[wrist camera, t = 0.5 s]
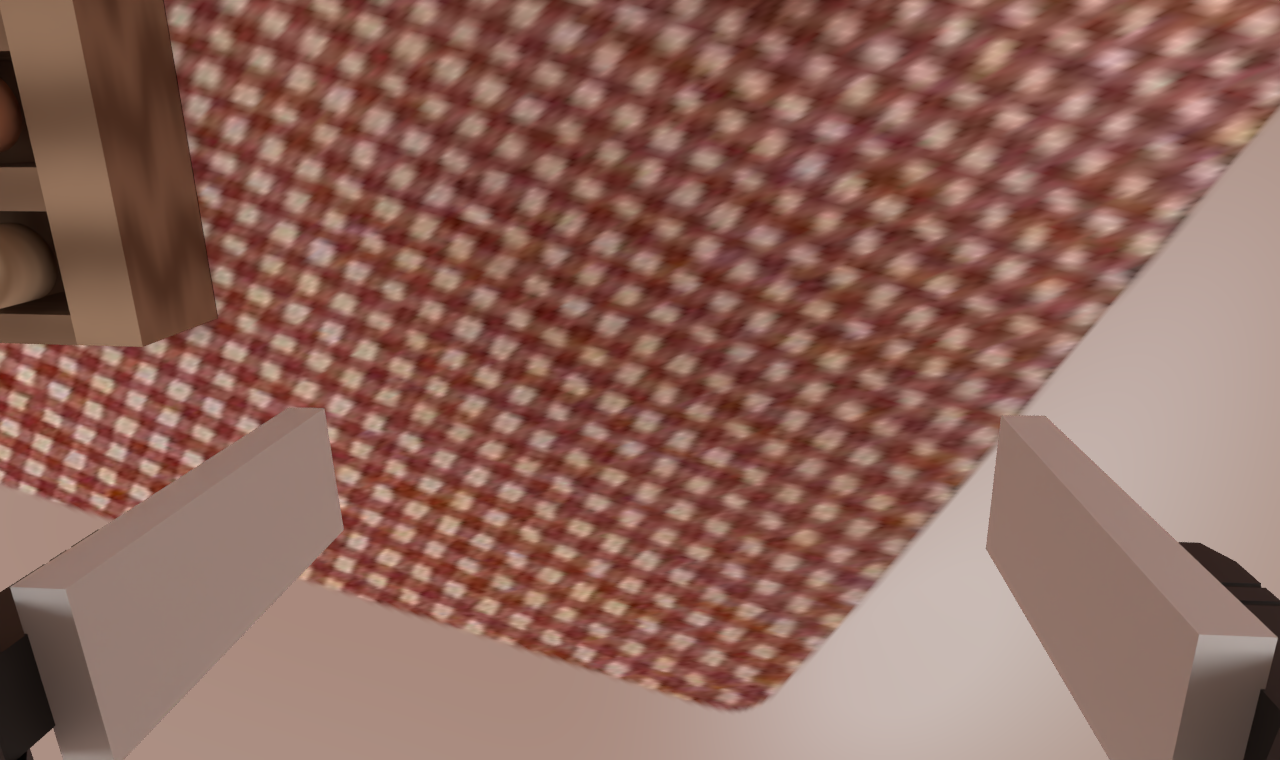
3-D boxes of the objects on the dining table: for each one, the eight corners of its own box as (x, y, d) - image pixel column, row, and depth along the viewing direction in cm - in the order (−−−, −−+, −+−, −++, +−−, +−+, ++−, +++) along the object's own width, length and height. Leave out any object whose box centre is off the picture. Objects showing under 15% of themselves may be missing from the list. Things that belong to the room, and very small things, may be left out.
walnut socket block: (-86, -123, 39) (-224, -164, 34) (140, -133, 38) (36, -177, 32) (22, 313, 46) (-78, 340, 41) (217, 318, 45) (142, 346, 39)
